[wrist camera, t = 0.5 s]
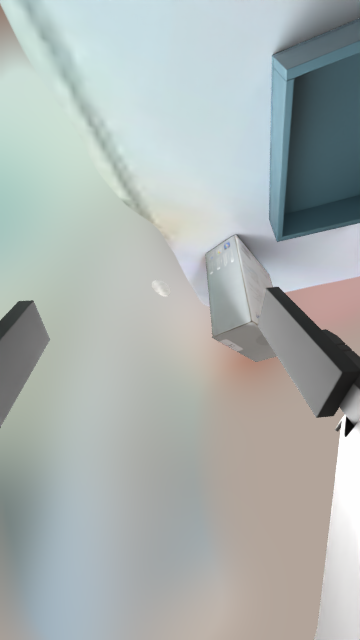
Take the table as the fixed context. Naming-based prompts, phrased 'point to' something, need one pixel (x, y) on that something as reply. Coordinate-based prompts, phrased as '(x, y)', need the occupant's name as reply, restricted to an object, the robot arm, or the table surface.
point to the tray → (316, 134)
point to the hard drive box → (237, 298)
